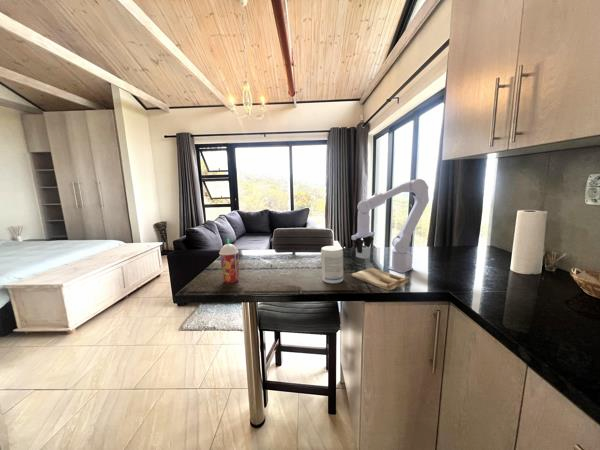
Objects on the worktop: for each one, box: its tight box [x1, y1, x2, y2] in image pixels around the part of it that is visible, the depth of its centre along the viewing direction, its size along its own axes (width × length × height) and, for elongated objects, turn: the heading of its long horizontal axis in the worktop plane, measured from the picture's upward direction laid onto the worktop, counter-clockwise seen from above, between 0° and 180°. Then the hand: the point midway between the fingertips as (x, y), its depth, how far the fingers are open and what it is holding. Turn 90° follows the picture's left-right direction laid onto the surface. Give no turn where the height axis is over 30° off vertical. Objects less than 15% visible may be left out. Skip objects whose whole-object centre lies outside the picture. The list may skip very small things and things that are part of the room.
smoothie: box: [218, 237, 240, 284], centre depth 108 cm, size 8×8×20 cm
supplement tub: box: [320, 245, 344, 284], centre depth 107 cm, size 10×10×15 cm
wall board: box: [351, 267, 411, 292], centre depth 107 cm, size 14×20×2 cm
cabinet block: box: [355, 245, 371, 260], centre depth 121 cm, size 4×5×6 cm
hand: (363, 251), depth 121 cm, fingers closed on cabinet block, 4 cm apart
